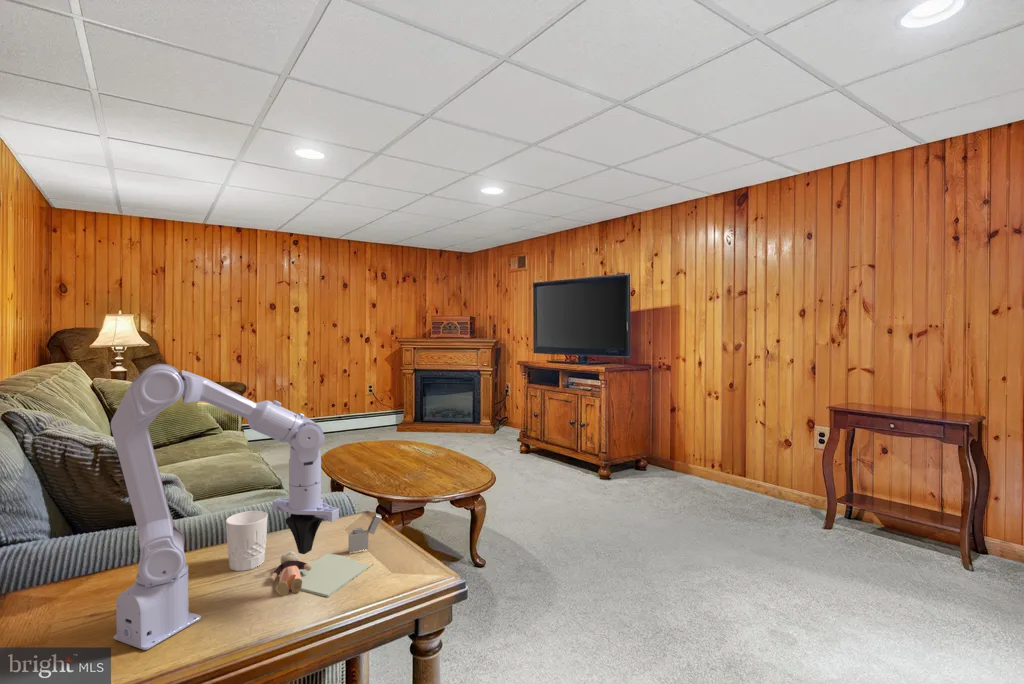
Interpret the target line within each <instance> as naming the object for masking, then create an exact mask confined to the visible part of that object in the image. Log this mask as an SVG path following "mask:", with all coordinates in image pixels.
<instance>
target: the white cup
mask: <svg viewBox="0 0 1024 684" xmlns="http://www.w3.org/2000/svg"><path fill="white" fill-rule="evenodd" d="M268 515H269V514H268V513H267V512H265V511H262V510H249V511H243V512H238V513H234V514H233V515H231V516H229V517H228V518H226V520H225V529H226V532H225V533H226V545H227V546H226V547H227V554H228V555H227V556H228V567H229V569H230V570H232V571H237V572H243V571H249V570H253V569H256V568H258V567H260V566H262V565H263V564H264V563H265V561H264V560H266V547H267V537H268ZM263 562H264V563H263ZM262 563H263V564H262ZM259 565H260V566H259ZM257 566H258V567H257ZM255 567H256V568H255Z"/></svg>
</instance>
